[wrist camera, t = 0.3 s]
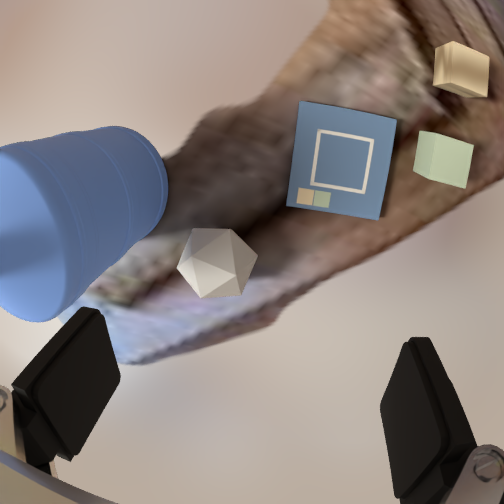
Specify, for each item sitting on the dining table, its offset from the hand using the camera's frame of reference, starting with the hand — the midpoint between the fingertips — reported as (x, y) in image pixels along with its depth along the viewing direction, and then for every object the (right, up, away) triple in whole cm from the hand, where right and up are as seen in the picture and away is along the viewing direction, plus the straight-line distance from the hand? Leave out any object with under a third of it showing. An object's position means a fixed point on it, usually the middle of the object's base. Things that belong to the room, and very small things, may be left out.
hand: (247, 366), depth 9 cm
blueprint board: (+10, +14, +26) cm, 31 cm away
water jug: (-18, +12, +30) cm, 37 cm away
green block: (+22, +15, +24) cm, 36 cm away
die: (-3, +4, +32) cm, 33 cm away
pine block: (+24, +25, +19) cm, 39 cm away
